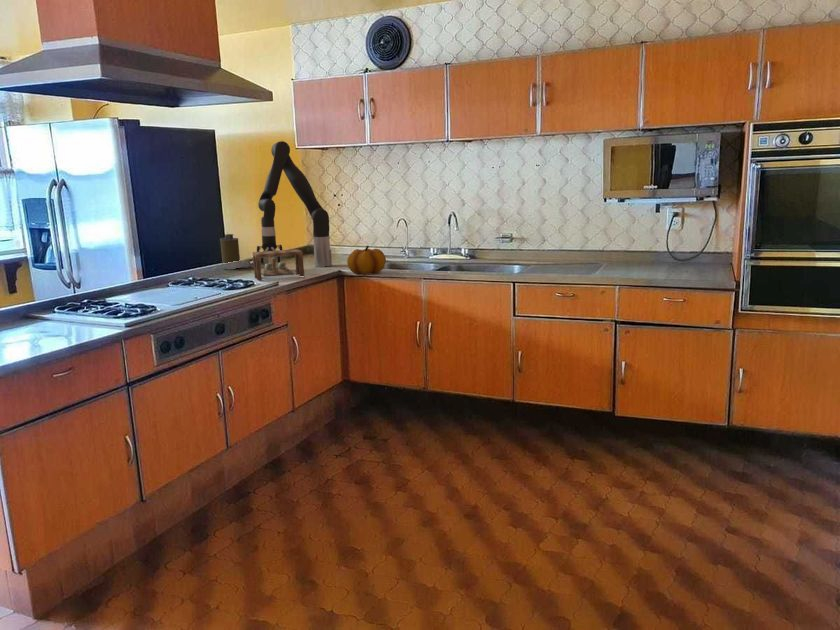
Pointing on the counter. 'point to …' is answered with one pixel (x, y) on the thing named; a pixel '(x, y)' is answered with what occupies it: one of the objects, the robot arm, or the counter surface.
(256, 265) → the wooden rack
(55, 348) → the counter surface
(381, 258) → the decorative pumpkin
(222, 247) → the canister
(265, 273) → the tray
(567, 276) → the counter surface
